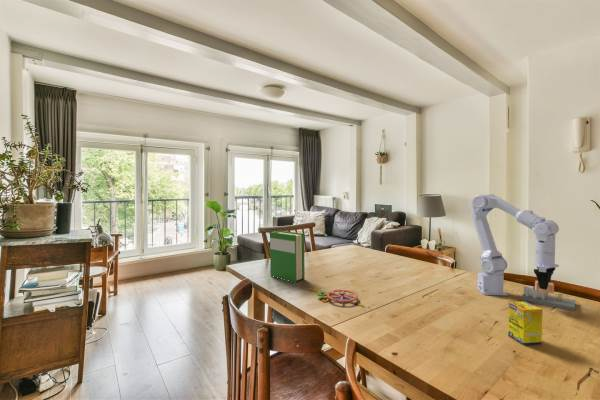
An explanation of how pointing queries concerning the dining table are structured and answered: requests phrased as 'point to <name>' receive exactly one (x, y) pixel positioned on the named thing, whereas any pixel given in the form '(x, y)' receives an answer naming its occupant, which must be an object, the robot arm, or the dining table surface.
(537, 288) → the loose gear
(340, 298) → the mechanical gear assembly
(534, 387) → the dining table surface
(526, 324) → the supplement box
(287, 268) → the hardback book
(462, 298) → the dining table surface
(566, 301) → the gear board
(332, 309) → the dining table surface
